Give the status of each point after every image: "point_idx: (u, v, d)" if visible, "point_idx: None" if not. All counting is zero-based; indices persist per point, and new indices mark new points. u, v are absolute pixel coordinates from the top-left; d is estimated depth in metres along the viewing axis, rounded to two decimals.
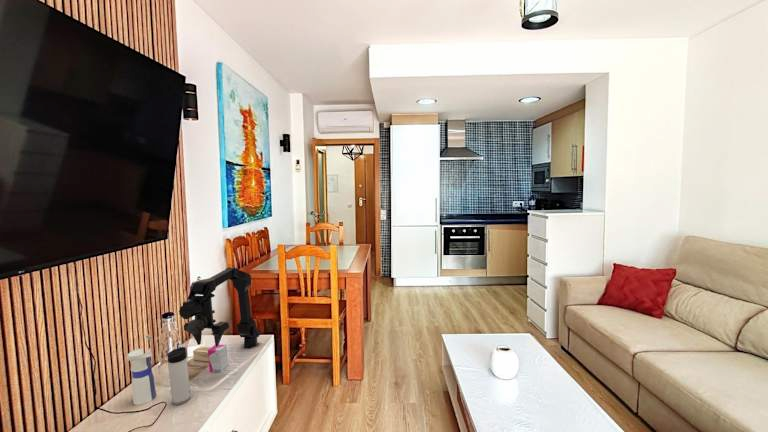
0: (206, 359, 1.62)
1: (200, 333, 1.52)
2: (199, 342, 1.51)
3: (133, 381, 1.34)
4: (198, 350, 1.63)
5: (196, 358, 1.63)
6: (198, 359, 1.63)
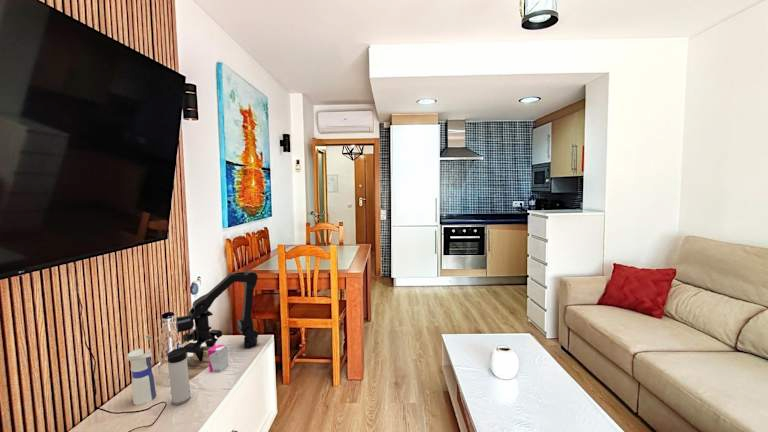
0: (206, 359, 1.62)
1: (211, 346, 1.67)
2: None
3: (133, 381, 1.34)
4: None
5: (196, 358, 1.63)
6: (198, 359, 1.63)
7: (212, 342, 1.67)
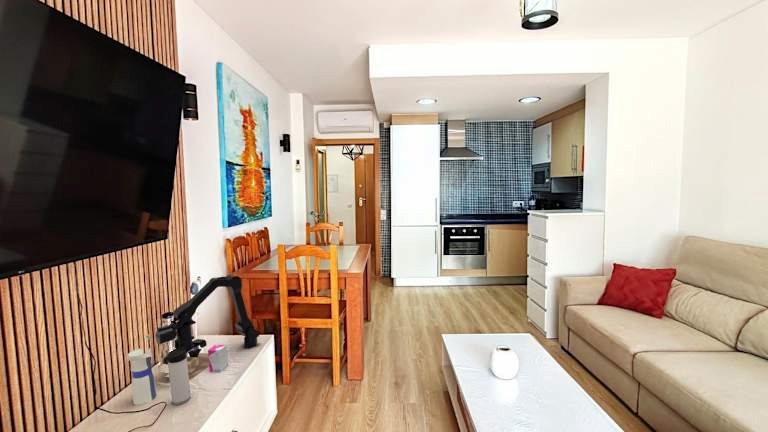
0: (188, 371, 1.52)
1: None
2: None
3: (133, 381, 1.34)
4: None
5: None
6: None
7: (195, 352, 1.57)
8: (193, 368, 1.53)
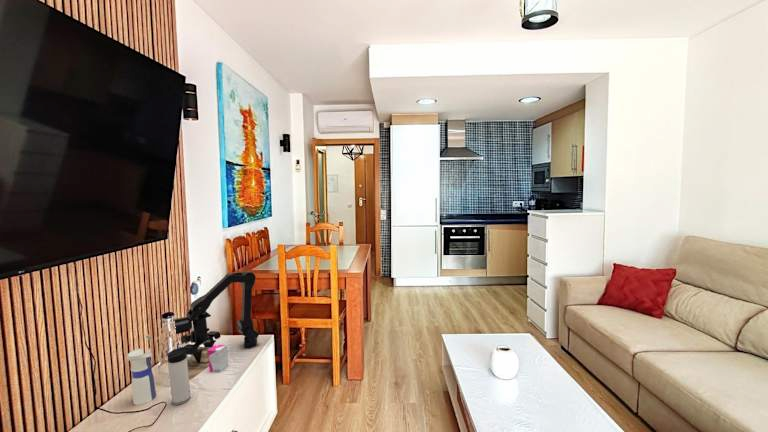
0: (204, 360, 1.60)
1: None
2: None
3: (133, 381, 1.34)
4: None
5: (194, 359, 1.62)
6: None
7: (210, 344, 1.66)
8: None
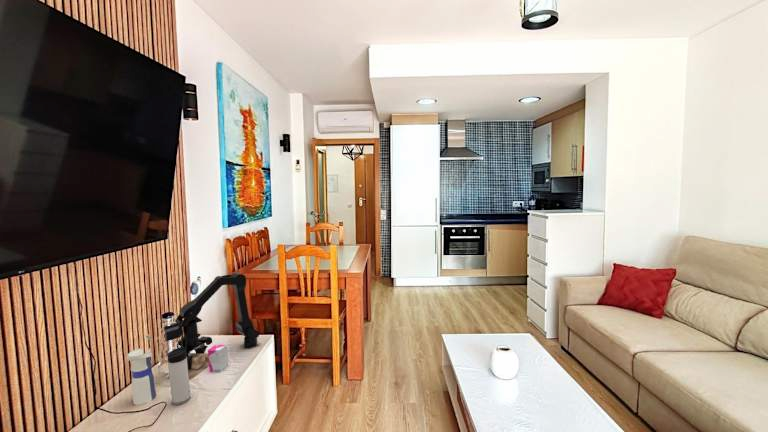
0: (195, 367, 1.55)
1: None
2: None
3: (133, 381, 1.34)
4: None
5: None
6: None
7: (202, 350, 1.60)
8: (199, 364, 1.56)
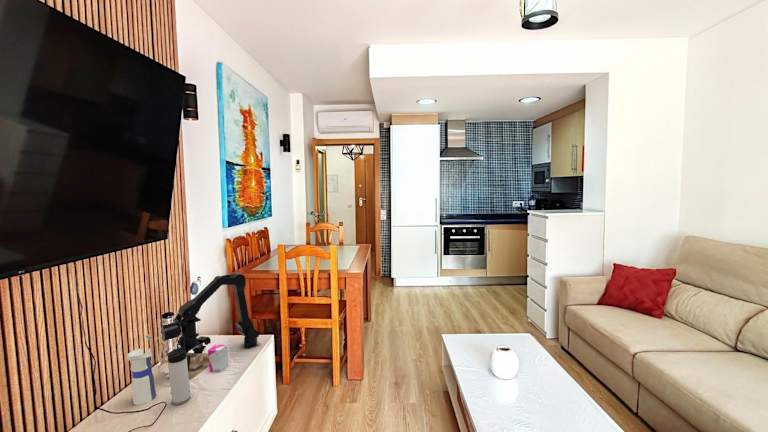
0: (193, 366, 1.54)
1: None
2: None
3: (133, 381, 1.34)
4: None
5: None
6: None
7: (200, 349, 1.59)
8: (197, 364, 1.56)
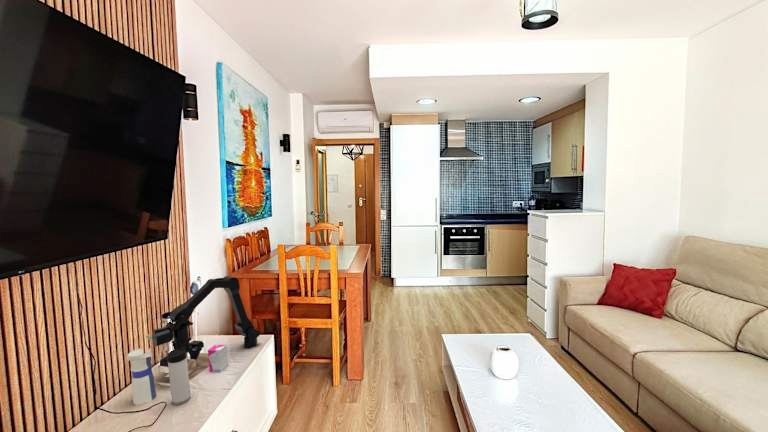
0: None
1: (195, 357, 1.57)
2: None
3: (133, 381, 1.34)
4: None
5: None
6: None
7: (196, 352, 1.57)
8: (190, 370, 1.52)
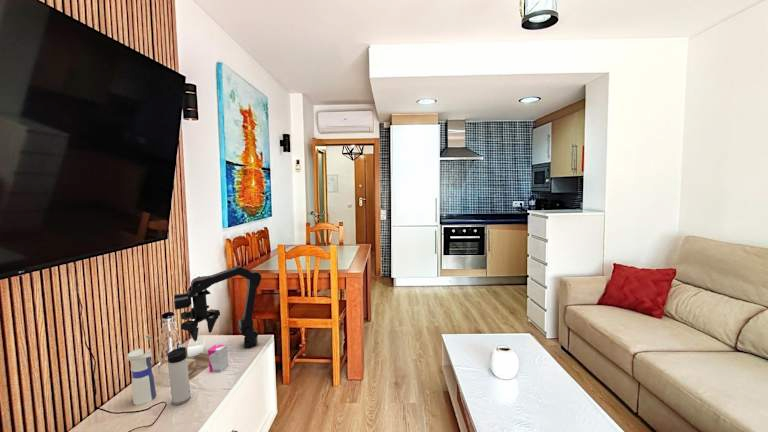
0: None
1: (212, 324, 1.69)
2: (209, 331, 1.69)
3: (133, 381, 1.34)
4: None
5: None
6: None
7: (213, 319, 1.69)
8: (190, 370, 1.52)
